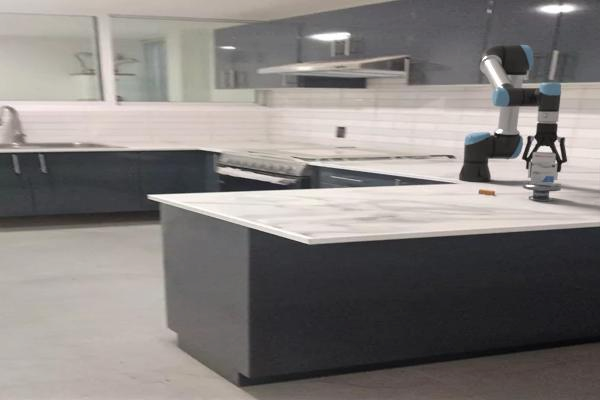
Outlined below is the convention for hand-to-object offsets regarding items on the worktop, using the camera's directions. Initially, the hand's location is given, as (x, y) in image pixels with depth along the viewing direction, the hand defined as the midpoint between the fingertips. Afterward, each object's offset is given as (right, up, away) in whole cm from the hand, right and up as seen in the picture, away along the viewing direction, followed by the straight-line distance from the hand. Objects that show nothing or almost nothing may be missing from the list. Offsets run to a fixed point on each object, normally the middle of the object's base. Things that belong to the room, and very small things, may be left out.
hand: (542, 178), depth 215 cm
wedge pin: (-18, -6, +12) cm, 23 cm away
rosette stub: (0, -8, +2) cm, 8 cm away
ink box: (0, -1, 0) cm, 1 cm away
